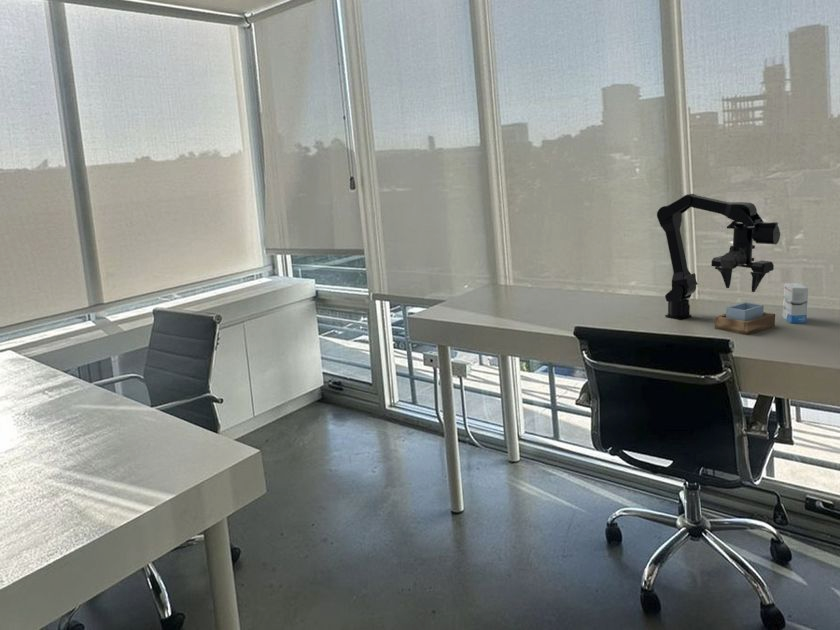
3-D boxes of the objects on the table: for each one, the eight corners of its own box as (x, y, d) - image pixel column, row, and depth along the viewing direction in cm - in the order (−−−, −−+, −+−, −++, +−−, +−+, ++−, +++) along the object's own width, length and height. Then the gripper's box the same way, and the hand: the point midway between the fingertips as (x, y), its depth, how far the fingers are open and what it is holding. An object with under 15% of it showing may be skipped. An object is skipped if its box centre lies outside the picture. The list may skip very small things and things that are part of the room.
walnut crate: (714, 328, 221) (715, 316, 220) (742, 320, 229) (742, 308, 228) (747, 335, 212) (747, 322, 211) (774, 325, 219) (775, 313, 218)
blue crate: (725, 325, 220) (726, 307, 219) (744, 319, 225) (744, 302, 224) (744, 329, 215) (744, 310, 213) (762, 323, 220) (763, 305, 218)
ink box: (806, 323, 220) (808, 287, 217) (790, 323, 221) (792, 288, 218) (797, 316, 228) (799, 282, 225) (781, 317, 229) (783, 283, 226)
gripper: (701, 243, 221) (699, 289, 225) (754, 248, 206) (751, 298, 209) (723, 239, 227) (721, 284, 231) (776, 243, 211) (773, 292, 215)
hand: (740, 290), depth 221 cm, fingers open, 9 cm apart
